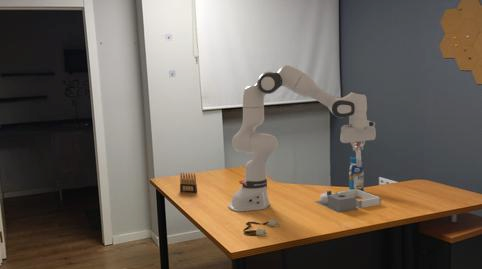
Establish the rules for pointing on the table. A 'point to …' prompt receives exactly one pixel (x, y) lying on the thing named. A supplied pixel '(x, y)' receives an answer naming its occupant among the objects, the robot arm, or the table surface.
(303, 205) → the table surface
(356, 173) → the beverage bottle
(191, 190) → the ammunition clip
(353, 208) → the grey rectangular block
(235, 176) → the table surface
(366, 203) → the tray
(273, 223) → the cable
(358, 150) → the lock pin
